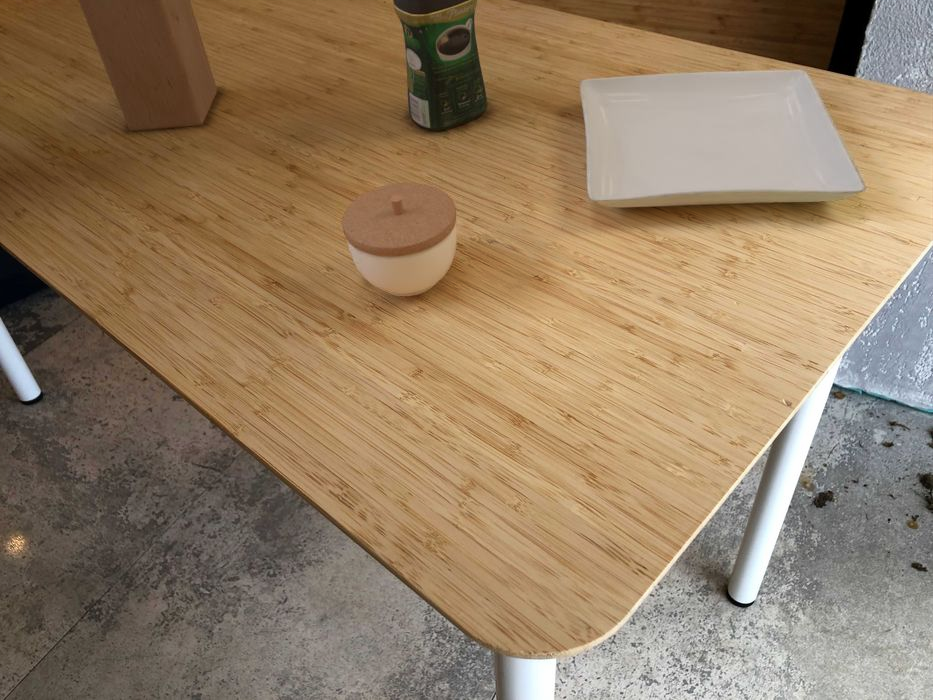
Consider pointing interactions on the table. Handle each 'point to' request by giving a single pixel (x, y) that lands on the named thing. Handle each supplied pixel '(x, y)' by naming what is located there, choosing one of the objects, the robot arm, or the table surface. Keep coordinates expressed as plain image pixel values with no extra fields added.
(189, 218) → the table surface
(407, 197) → the trinket box
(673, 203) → the square plate
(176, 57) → the wooden block
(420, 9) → the coffee jar
